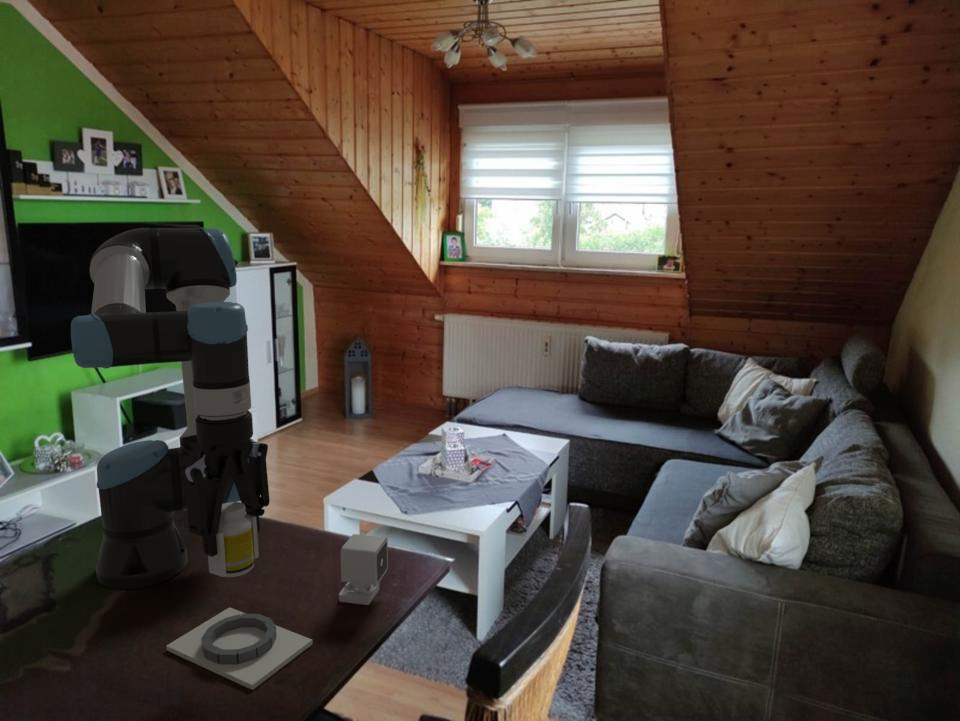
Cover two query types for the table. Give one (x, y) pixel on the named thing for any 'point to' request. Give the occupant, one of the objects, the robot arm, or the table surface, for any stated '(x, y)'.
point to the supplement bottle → (236, 539)
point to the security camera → (363, 567)
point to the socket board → (240, 646)
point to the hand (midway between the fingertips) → (234, 564)
